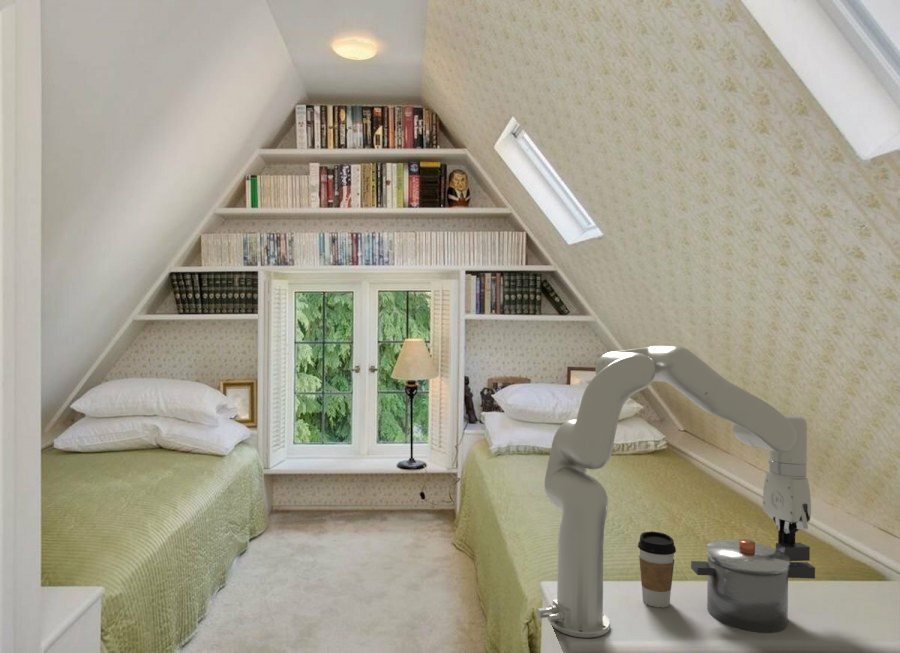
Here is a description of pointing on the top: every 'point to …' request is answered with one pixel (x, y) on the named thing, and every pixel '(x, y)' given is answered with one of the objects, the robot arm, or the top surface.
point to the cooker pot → (750, 595)
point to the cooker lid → (756, 555)
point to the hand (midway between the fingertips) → (786, 548)
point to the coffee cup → (656, 567)
